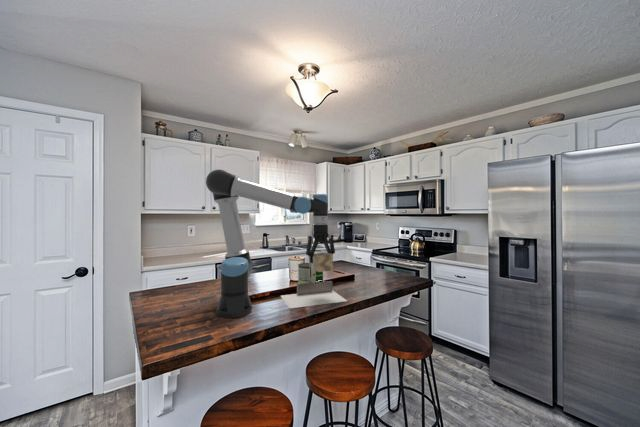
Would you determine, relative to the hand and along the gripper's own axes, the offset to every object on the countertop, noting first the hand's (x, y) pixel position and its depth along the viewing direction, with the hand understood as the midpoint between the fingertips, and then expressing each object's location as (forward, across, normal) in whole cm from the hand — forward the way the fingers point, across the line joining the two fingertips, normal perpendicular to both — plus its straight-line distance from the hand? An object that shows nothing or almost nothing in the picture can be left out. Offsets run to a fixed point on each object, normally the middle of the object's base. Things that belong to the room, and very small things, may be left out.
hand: (320, 268), depth 141 cm
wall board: (+16, -4, +1) cm, 16 cm away
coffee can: (+16, 0, +20) cm, 25 cm away
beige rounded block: (0, 0, 0) cm, 0 cm away
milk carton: (+16, +11, +33) cm, 38 cm away
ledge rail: (+16, 0, +9) cm, 18 cm away
